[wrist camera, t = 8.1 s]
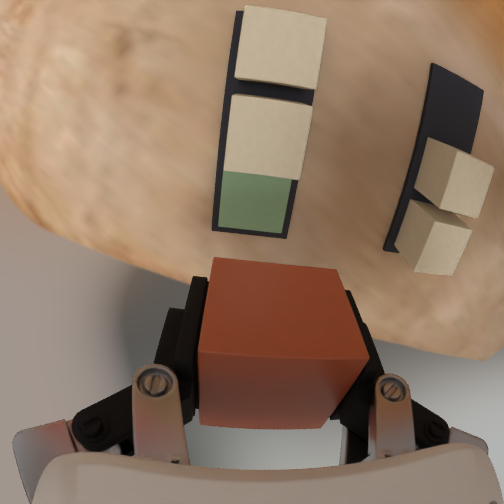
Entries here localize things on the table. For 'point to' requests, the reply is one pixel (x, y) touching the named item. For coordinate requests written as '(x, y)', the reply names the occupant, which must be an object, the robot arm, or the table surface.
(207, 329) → the rust orange cube
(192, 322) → the robot arm
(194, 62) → the table surface
